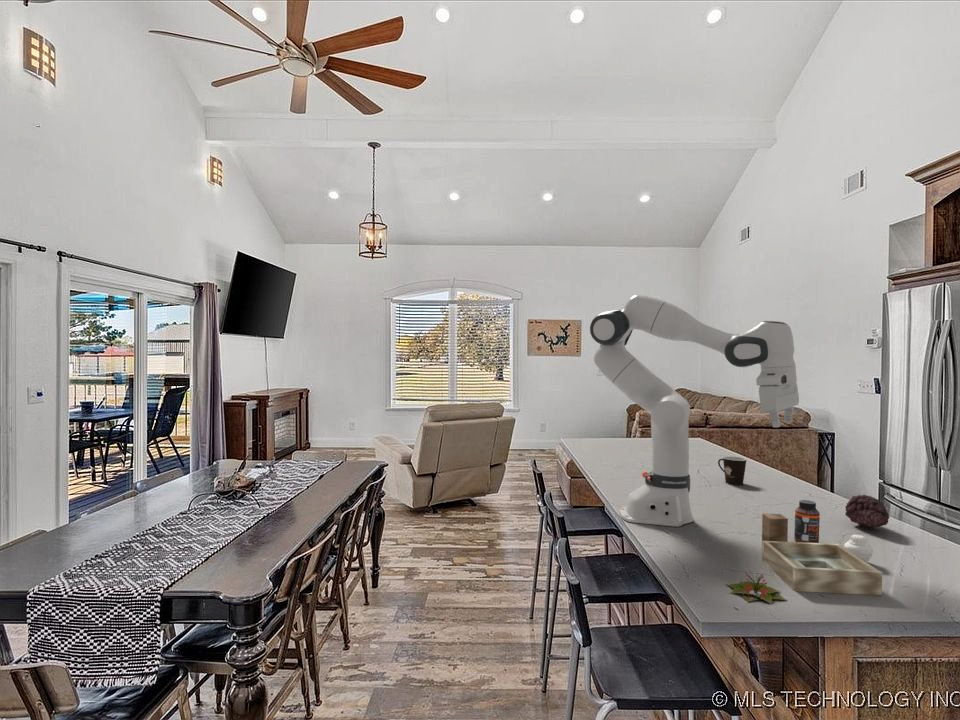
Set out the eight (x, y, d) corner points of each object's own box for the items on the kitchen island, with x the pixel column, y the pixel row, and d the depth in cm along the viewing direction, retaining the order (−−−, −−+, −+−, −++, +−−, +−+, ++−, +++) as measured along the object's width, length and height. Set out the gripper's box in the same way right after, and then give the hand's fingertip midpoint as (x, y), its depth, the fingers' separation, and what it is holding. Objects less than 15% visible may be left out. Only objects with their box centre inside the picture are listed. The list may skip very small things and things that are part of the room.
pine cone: (902, 539, 157) (902, 504, 157) (863, 537, 159) (864, 502, 159) (869, 520, 175) (870, 489, 174) (835, 518, 176) (835, 487, 176)
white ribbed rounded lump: (845, 555, 144) (845, 528, 144) (874, 561, 140) (874, 534, 140) (842, 562, 139) (842, 534, 139) (872, 568, 135) (872, 540, 135)
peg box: (794, 590, 122) (795, 568, 122) (761, 560, 140) (762, 540, 140) (881, 595, 121) (882, 572, 120) (837, 563, 138) (837, 543, 138)
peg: (768, 557, 143) (769, 518, 143) (761, 550, 147) (762, 513, 147) (787, 557, 142) (787, 519, 142) (779, 551, 147) (780, 513, 147)
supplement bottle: (810, 547, 150) (811, 505, 150) (789, 540, 156) (790, 500, 155) (823, 543, 153) (824, 502, 153) (802, 537, 158) (803, 497, 158)
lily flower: (799, 606, 116) (799, 585, 116) (744, 608, 115) (744, 586, 115) (765, 582, 128) (765, 563, 128) (715, 584, 127) (715, 564, 127)
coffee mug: (750, 486, 219) (750, 460, 218) (728, 485, 219) (728, 460, 219) (736, 479, 230) (737, 455, 230) (715, 478, 230) (716, 455, 230)
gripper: (780, 374, 169) (783, 419, 169) (753, 380, 155) (757, 429, 155) (802, 373, 164) (806, 420, 164) (777, 379, 150) (781, 430, 150)
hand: (782, 424), depth 159 cm, fingers open, 8 cm apart
